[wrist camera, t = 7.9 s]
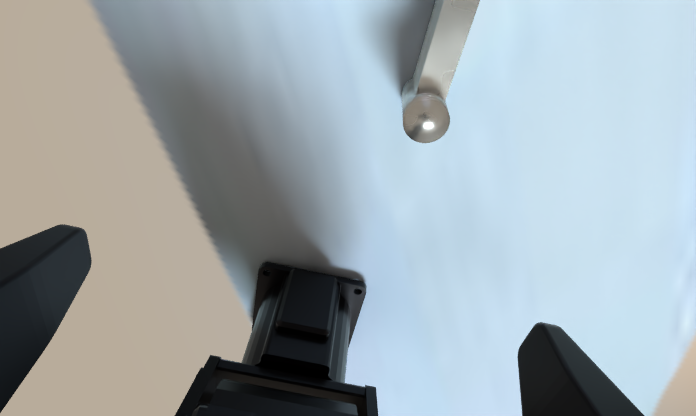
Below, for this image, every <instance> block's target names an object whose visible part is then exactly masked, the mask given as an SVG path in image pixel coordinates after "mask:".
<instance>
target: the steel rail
mask: <svg viewBox="0 0 696 416" xmlns="http://www.w3.org/2000/svg"><path fill="white" fill-rule="evenodd" d="M479 2H480V0H436V1H435V4H434V8H433V11H432V15H431V18H430V21H429V25H428V28H427V32H426V35H425V39H424V42H423V45H422V49H421V52H420V56H419V59H418V62H417V66H416V69H415V73H414V76H413V78H411V79H410V80H409V81H408V82H407V83H406V84H405V86H404V87H403V90H402V112H403V127H404V130H405V132H406V134H407V135H408V136H409V137H410V138H411V139H412V140H414V141H417V142H420V143H430V142H433V141H436V140H438V139H439V138H441V137H442V136H443V135H444V134H445V133H446V131H447V129H448V127H449V123H450V117H449V113H448V109H447V106H446V102H445V99H446V97H447V94H448V91H449V88H450V85H451V82H452V79H453V76H454V74H455V71H456V68H457V65H458V62H459V59H460V56H461V53H462V50H463V48H464V45H465V42H466V39H467V36H468V33H469V30H470V27H471V25H472V22H473V19H474V16H475V13H476V10H477V7H478V4H479Z"/></svg>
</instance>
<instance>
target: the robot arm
mask: <svg viewBox="0 0 696 416" xmlns="http://www.w3.org/2000/svg"><path fill="white" fill-rule="evenodd" d="M90 267H91V254H90V249H89V244H88V239H87V234H86V232H85V230H84V229H82V228H79V227H73V226H69V225H57V226H55V227H52V228H50V229H47V230H45V231H42V232H40V233H38V234H35V235H32V236H30V237H28V238H25V239H23V240H20V241H18V242H15V243H13V244H10V245H8V246H6V247H3V248H1V249H0V413H1V411H2V410H3V408H4V407H5V405H6V404H7V403H8V401H9V400H10V398H11V397H12V395H13V394H14V392H15V391H16V390H17V388H18V387H19V385H20V384H21V383H22V381H23V380H24V378H25V377H26V375H27V374H28V373H29V371H30V370H31V368H32V367H33V366H34V364H35V363H36V361H37V360H38V358H39V357H40V356H41V354H42V353H43V351H44V350H45V348H46V347H47V345H48V344H49V342H50V340H51V339H52V337H53V336H54V334H55V332H56V330H57V329H58V327H59V325H60V323H61V321H62V320H63V318H64V316H65V314H66V312H67V311H68V309H69V307H70V305H71V303H72V301H73V300H74V298H75V296H76V294H77V292H78V290H79V289H80V287H81V285H82V283H83V281H84V280H85V278H86V276H87V274H88V272H89V270H90ZM266 270H269V271H270V272H268V271H266ZM356 289H360V290H356ZM365 295H366V285H365V284H364V283H363V282H361V281H357V280H352V279H347V278H342V277H337V276H332V275H328V274H323V273H318V272H313V271H308V270H303V269H298V268H294V267H289V266H284V265H279V264H274V263H269V262H265V263H263V264H261V266H260V269H259V272H258V281H257V290H256V298H255V307H254V316H253V325H252V333H251V336H250V339H249V342H248V345H247V348H246V351H245V354H244V357H243V360H242V363H239V362H234V361H228V360H224V359H221V357H218V356H212V355H210V357H209V359H208V361H207V362H206V364H205V366H204V368H201V369H200V371H199V372H198V374H197V375H196V378H195V380H194V382H193V383H192V385H191V387H190V389H189V391H188V393H187V395H186V396H185V398H184V400H183V402H182V404H181V406H180V407H179V409H178V411H177V413H176V415H175V416H378V408H377V396H376V387H372V386H367V385H365V387H362V386H357V385H352V384H347V383H345V373H346V363H347V353H348V347H349V344H350V341H351V338H352V335H353V332H354V329H355V326H356V323H357V319H358V316H359V313H360V310H361V307H362V304H363V301H364V298H365ZM518 368H519V380H520V392H521V404H522V416H644V415H643V414H642V413H641V412H640V411H639V410H638V409H637V407H636V406H635V405H634V404H633V403H632V402H631V401H630V400H629V399H628V398H627V397H626V396H625V395H624V394H623V393H622V392H621V391H620V390H619V388H618V387H617V386H616V385H615V384H614V383H613V382H612V381H611V380H610V379H609V378H608V377H607V376H606V375H605V374H604V373H603V372H602V371H601V369H600V368H599V367H598V366H597V365H596V364H595V363H594V362H593V361H592V360H591V359H590V358H589V357H588V356H587V355H586V354H585V353H584V352H583V350H582V349H581V348H580V347H579V346H578V345H577V344H576V343H575V342H574V341H573V340H572V339H571V338H570V337H569V336H568V335H567V334H566V333H565V331H564V330H563V329H561V328H560V327H559V326H556V325H552V324H547V323H542V322H540V323H537V324H535V325H534V327H533V328H532V330H531V331H530V333H529V334H528V335H527V337H526V338H525V340H524V341H523V343H522V344H521V346H520V348H519V351H518Z"/></svg>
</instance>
